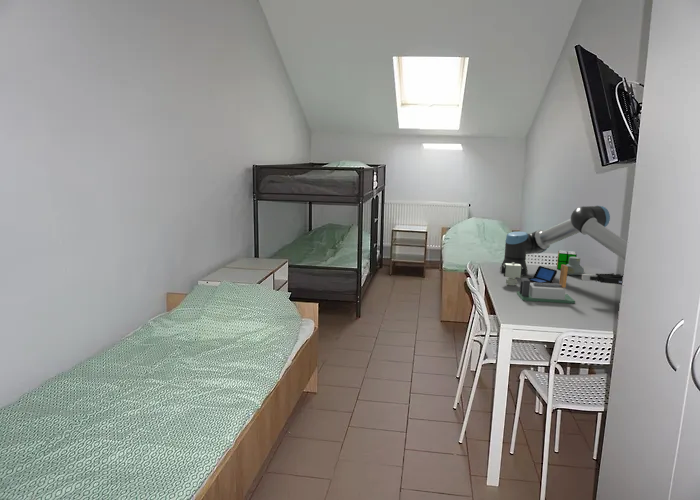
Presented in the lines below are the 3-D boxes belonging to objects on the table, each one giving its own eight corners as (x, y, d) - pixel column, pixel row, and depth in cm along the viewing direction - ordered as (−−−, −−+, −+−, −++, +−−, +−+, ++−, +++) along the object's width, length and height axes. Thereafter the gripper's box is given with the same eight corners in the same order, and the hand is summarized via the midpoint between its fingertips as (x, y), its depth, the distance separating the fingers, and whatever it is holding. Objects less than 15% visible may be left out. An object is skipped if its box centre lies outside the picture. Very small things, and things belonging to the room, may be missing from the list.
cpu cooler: (567, 296, 265) (569, 278, 263) (575, 303, 253) (577, 284, 251) (516, 293, 266) (518, 276, 265) (522, 300, 255) (524, 282, 253)
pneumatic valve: (523, 286, 281) (525, 264, 278) (500, 285, 282) (502, 262, 280) (521, 284, 286) (524, 261, 284) (499, 282, 288) (501, 260, 286)
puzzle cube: (574, 267, 333) (575, 251, 331) (574, 271, 323) (576, 254, 321) (556, 266, 336) (558, 250, 334) (557, 269, 327) (558, 253, 325)
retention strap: (562, 285, 260) (564, 264, 258) (565, 287, 255) (568, 266, 253) (532, 283, 261) (534, 263, 259) (534, 285, 256) (537, 265, 254)
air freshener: (585, 275, 312) (587, 258, 310) (577, 277, 307) (579, 260, 305) (568, 271, 320) (570, 255, 319) (560, 273, 316) (562, 256, 314)
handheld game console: (524, 280, 296) (525, 267, 294) (537, 278, 301) (539, 265, 300) (542, 286, 285) (544, 272, 284) (556, 284, 290) (558, 270, 289)
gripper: (639, 291, 249) (585, 288, 250) (627, 284, 261) (576, 281, 263) (641, 275, 247) (587, 272, 249) (629, 269, 260) (578, 266, 262)
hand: (582, 277), depth 256 cm, fingers closed
